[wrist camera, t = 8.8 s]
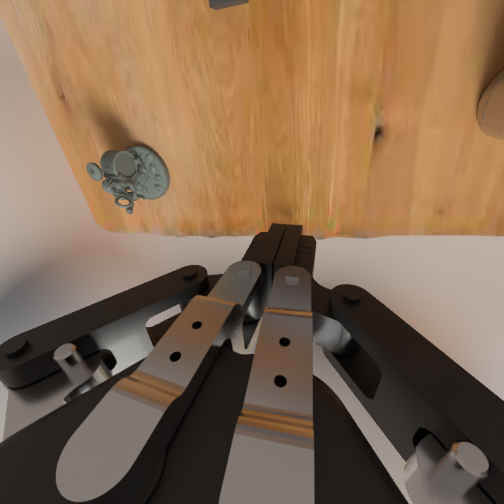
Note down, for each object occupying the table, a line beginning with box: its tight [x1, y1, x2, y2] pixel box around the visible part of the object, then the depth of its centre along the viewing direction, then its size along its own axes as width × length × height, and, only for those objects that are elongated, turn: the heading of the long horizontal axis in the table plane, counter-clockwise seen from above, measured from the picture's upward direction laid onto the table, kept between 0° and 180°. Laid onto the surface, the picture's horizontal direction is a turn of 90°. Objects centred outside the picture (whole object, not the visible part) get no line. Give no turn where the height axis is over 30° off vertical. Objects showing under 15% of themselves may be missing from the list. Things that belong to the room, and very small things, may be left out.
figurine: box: [87, 145, 170, 214], centre depth 46 cm, size 11×11×12 cm
